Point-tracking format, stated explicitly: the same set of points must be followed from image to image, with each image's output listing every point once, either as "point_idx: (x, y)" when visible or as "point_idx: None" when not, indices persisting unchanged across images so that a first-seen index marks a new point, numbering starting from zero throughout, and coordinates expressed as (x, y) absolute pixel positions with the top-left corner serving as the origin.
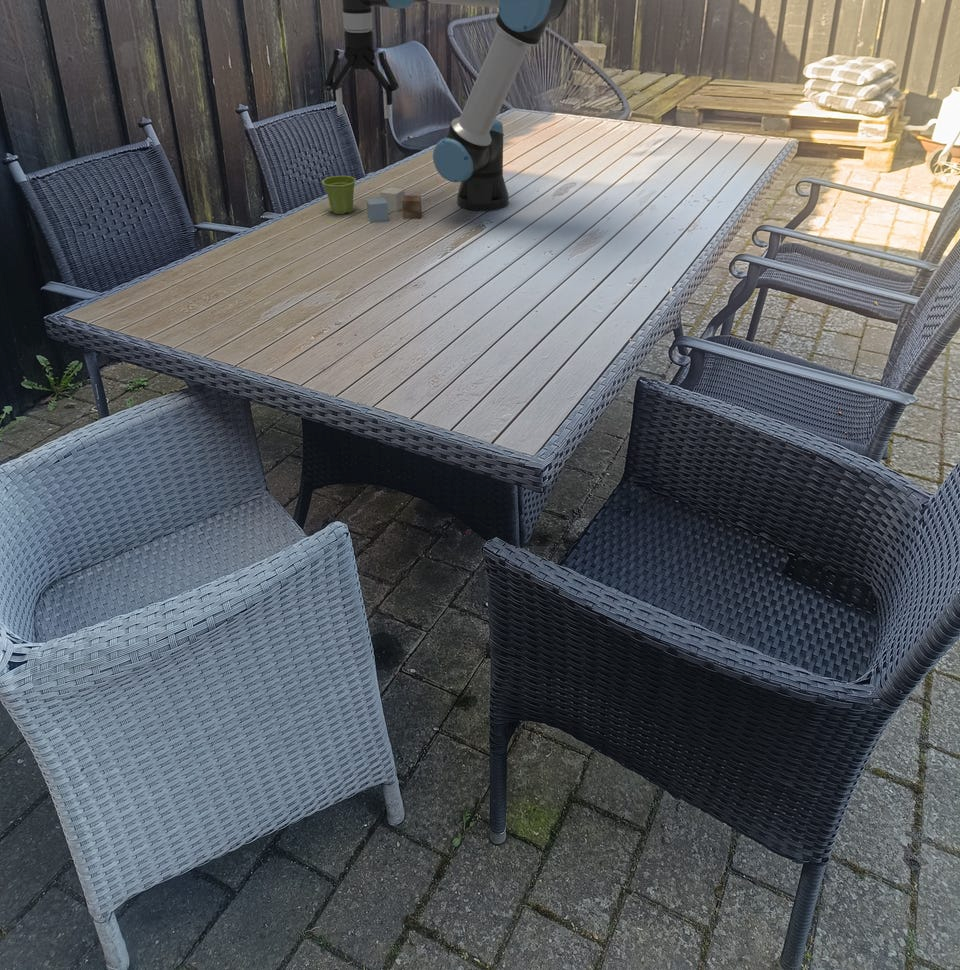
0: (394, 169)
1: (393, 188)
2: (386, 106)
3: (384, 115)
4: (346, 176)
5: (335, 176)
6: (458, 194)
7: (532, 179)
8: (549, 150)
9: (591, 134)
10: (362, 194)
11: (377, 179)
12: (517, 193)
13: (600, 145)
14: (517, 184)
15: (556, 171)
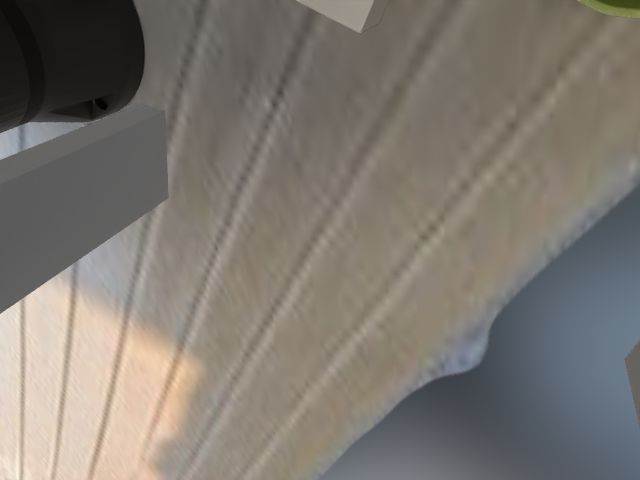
0: (387, 394)
1: (338, 12)
2: (49, 143)
3: (146, 120)
4: (599, 2)
5: None
6: (105, 10)
7: None
8: (71, 408)
9: (40, 459)
10: (501, 169)
11: (439, 324)
12: None
13: (4, 405)
14: None
15: None
